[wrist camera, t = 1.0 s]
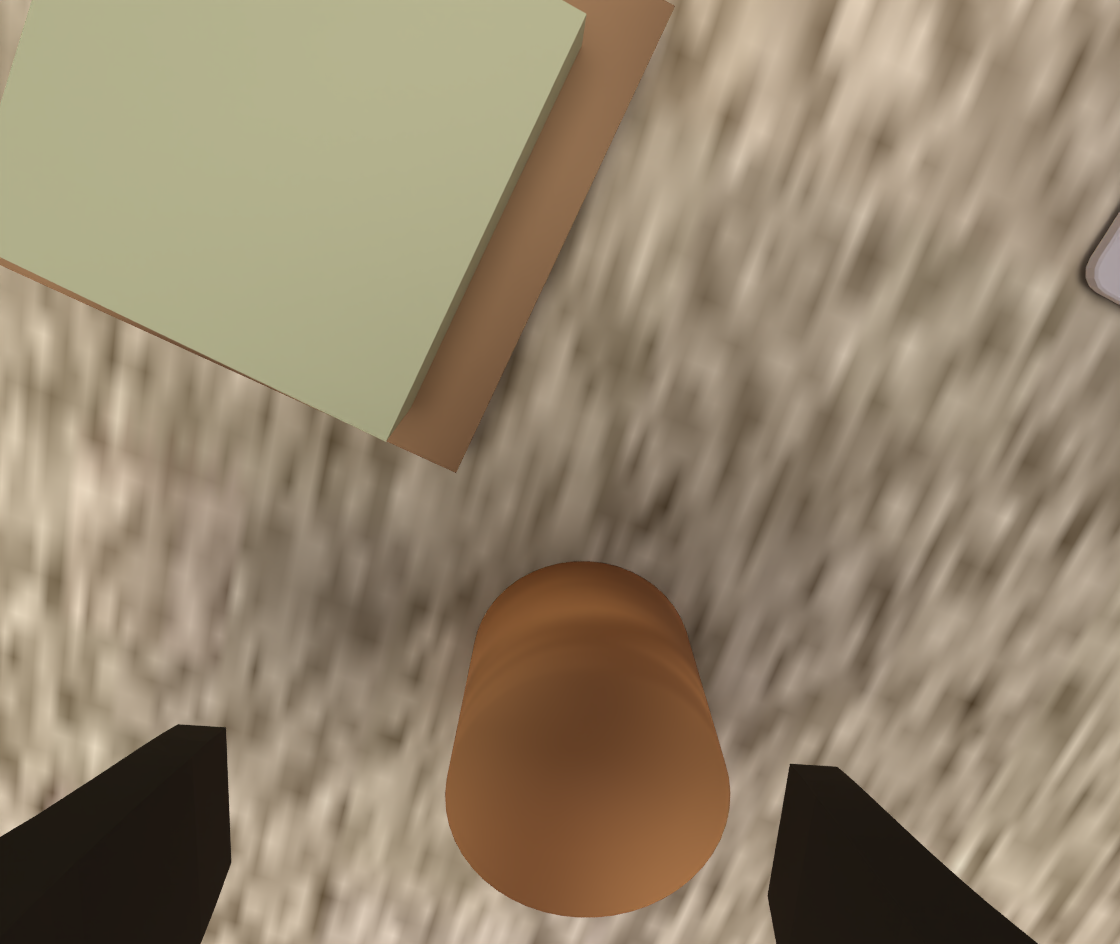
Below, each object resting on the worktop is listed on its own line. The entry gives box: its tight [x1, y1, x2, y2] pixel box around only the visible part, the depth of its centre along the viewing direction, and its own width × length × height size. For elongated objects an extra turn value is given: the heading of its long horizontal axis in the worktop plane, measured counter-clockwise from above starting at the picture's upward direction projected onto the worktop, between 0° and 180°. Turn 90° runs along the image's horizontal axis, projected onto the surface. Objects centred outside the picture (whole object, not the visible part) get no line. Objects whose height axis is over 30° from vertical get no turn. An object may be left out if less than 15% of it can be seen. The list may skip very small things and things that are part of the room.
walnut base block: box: [0, 0, 675, 473], centre depth 16 cm, size 9×9×2 cm
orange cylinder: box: [445, 561, 730, 917], centre depth 18 cm, size 5×5×5 cm
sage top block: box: [0, 0, 586, 442], centre depth 14 cm, size 7×7×2 cm
